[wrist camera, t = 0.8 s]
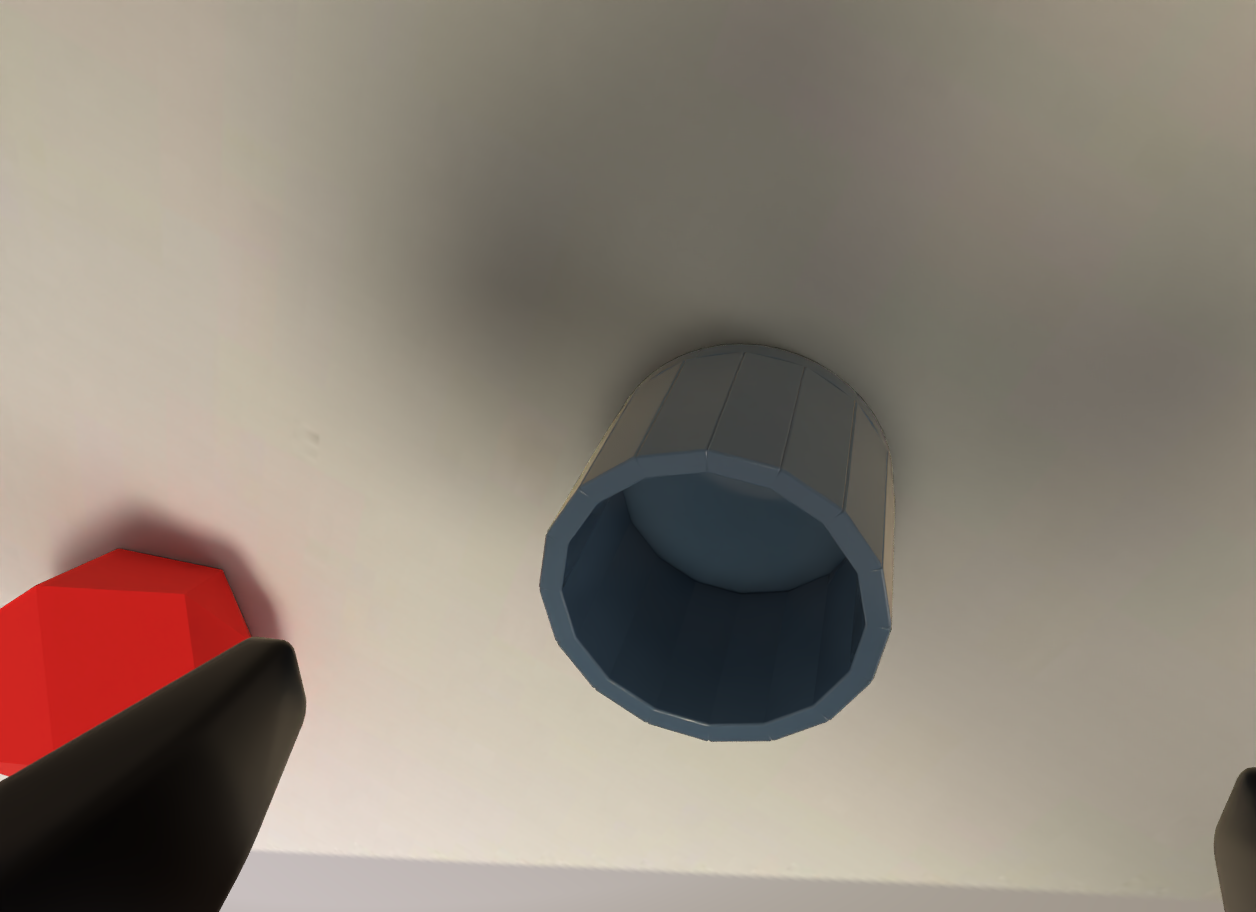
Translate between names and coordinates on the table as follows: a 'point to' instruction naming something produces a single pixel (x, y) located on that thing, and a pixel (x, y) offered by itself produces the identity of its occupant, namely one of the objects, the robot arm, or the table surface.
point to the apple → (104, 645)
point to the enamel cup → (729, 548)
